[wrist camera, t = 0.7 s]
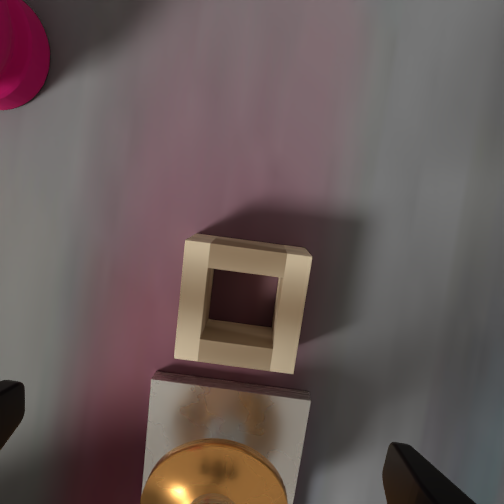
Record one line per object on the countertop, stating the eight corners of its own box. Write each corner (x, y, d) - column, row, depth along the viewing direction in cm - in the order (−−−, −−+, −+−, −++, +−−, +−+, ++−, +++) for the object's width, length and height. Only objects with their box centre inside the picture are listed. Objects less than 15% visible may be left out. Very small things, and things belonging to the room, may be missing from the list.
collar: (288, 349, 21) (293, 374, 18) (186, 335, 21) (173, 358, 18) (304, 247, 20) (312, 256, 17) (196, 233, 20) (185, 239, 17)
